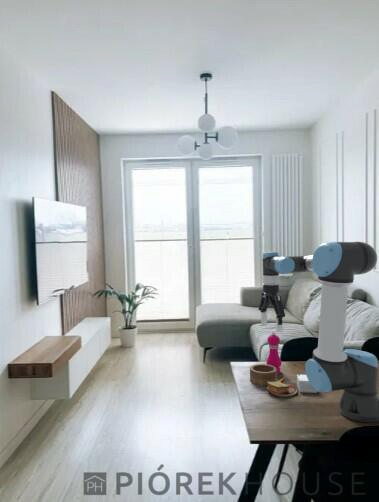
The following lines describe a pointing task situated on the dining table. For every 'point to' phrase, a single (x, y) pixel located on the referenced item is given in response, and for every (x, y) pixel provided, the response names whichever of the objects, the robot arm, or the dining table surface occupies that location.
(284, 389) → the toy sandwich meal
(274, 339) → the pepper mill
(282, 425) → the dining table surface
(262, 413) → the dining table surface
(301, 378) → the small box
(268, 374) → the wicker basket
